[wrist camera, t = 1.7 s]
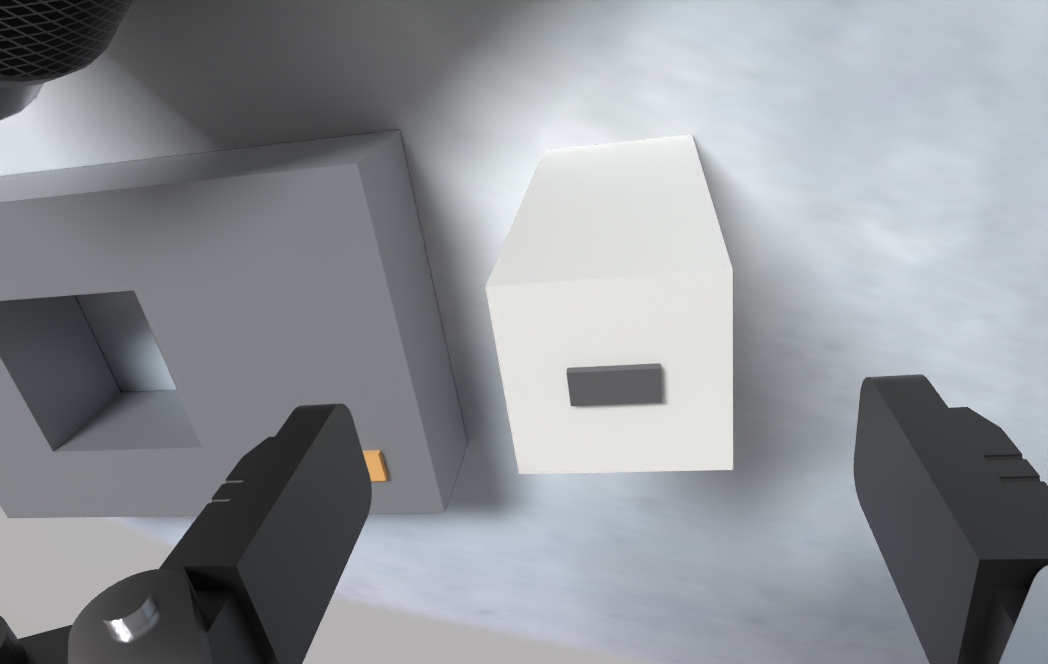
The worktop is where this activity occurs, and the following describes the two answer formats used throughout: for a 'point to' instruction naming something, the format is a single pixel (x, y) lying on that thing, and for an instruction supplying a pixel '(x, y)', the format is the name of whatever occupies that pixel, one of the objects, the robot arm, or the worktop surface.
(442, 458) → the outlet block
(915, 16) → the worktop surface
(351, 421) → the robot arm
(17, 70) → the muzzle brake
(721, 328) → the block
